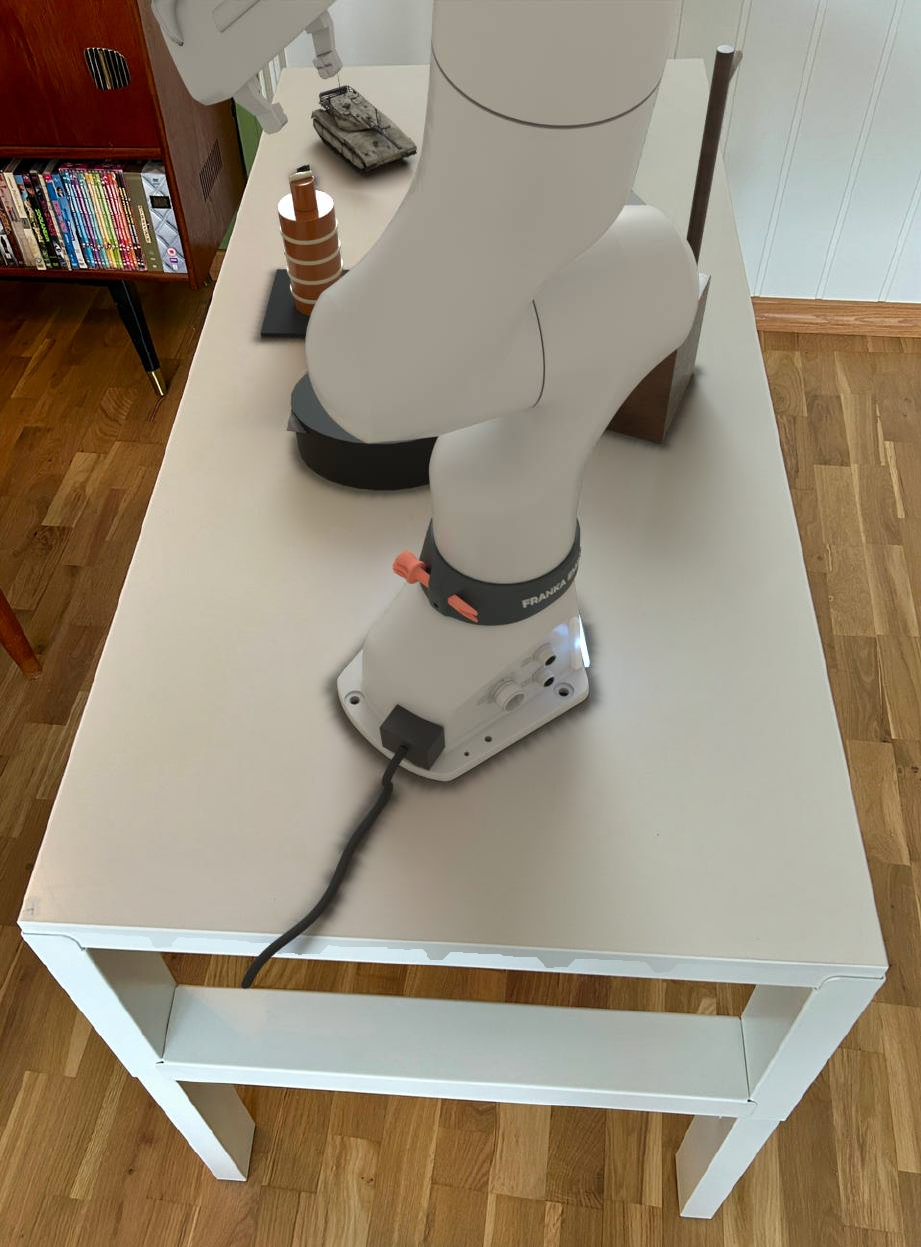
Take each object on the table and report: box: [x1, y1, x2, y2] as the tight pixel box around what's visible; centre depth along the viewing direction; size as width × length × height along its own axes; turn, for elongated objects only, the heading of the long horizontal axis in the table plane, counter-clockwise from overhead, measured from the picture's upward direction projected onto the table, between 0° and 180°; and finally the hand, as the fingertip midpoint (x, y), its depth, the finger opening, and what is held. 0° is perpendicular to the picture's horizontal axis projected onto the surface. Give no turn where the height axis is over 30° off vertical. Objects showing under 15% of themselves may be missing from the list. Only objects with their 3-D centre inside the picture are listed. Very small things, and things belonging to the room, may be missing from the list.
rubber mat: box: [260, 268, 351, 339], centre depth 123 cm, size 12×12×1 cm
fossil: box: [296, 164, 312, 173], centre depth 138 cm, size 8×2×1 cm, turn 13°
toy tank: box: [310, 72, 418, 174], centre depth 139 cm, size 8×18×10 cm, turn 33°
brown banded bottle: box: [276, 170, 344, 316], centre depth 117 cm, size 6×6×16 cm
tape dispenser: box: [286, 369, 439, 491], centre depth 107 cm, size 14×18×8 cm
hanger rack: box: [605, 44, 744, 445], centre depth 99 cm, size 12×12×36 cm
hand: (306, 101), depth 92 cm, fingers open, 8 cm apart
